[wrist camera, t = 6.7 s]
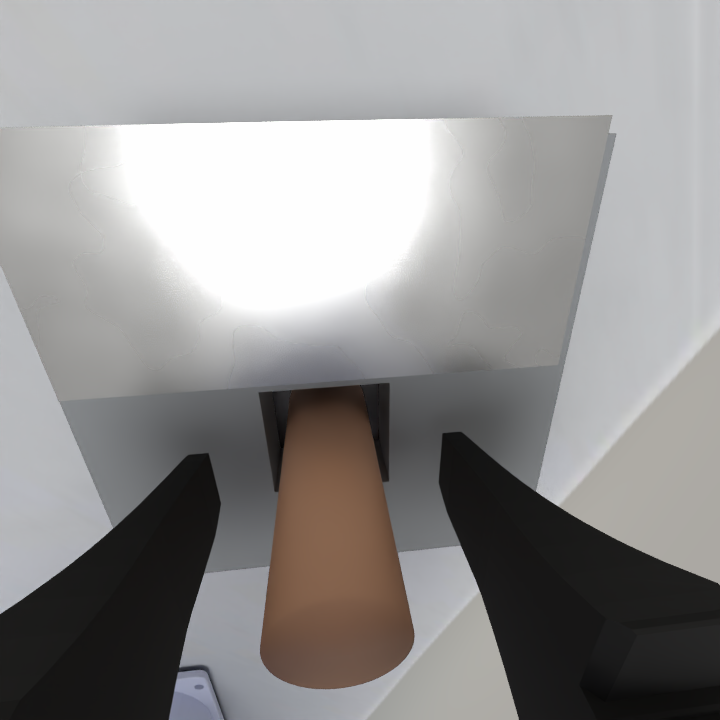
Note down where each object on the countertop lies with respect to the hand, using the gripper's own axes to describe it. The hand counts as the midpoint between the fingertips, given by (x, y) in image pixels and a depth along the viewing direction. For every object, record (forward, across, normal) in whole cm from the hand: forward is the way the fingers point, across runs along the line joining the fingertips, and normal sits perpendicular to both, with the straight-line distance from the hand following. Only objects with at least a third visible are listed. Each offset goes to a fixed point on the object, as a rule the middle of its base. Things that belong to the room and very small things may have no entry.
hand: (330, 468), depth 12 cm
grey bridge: (+1, 0, -7) cm, 7 cm away
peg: (+4, 0, 0) cm, 4 cm away
